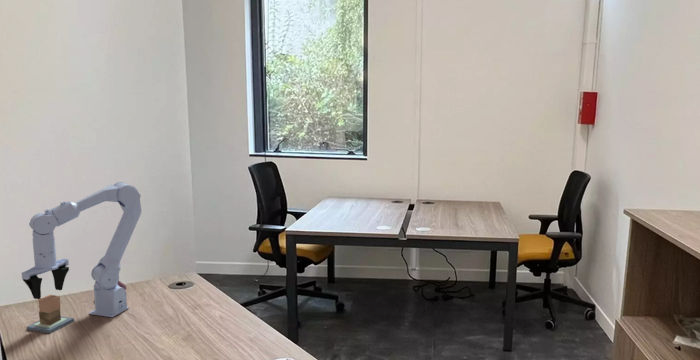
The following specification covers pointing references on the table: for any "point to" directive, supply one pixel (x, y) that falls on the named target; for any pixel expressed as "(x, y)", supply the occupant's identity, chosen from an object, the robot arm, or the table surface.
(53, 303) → the terracotta cube
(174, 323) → the table surface
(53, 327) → the baseplate
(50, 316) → the brass cube
